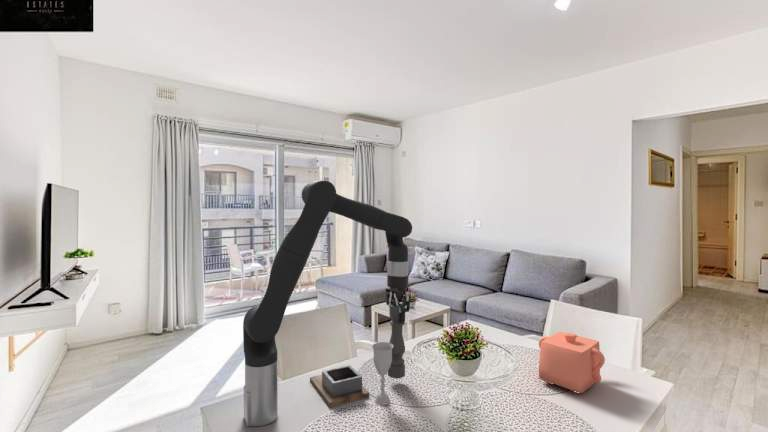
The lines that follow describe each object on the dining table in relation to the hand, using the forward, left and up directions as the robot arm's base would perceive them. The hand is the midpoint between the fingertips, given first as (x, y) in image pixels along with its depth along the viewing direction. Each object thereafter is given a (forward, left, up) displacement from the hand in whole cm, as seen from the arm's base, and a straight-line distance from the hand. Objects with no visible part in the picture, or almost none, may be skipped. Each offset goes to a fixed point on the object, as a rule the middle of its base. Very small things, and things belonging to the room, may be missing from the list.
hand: (397, 320), depth 135 cm
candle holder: (0, 0, -20) cm, 20 cm away
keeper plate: (-20, +6, -23) cm, 31 cm away
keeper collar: (-20, +3, -21) cm, 29 cm away
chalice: (-10, -8, -23) cm, 27 cm away
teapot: (+59, -28, -23) cm, 69 cm away
